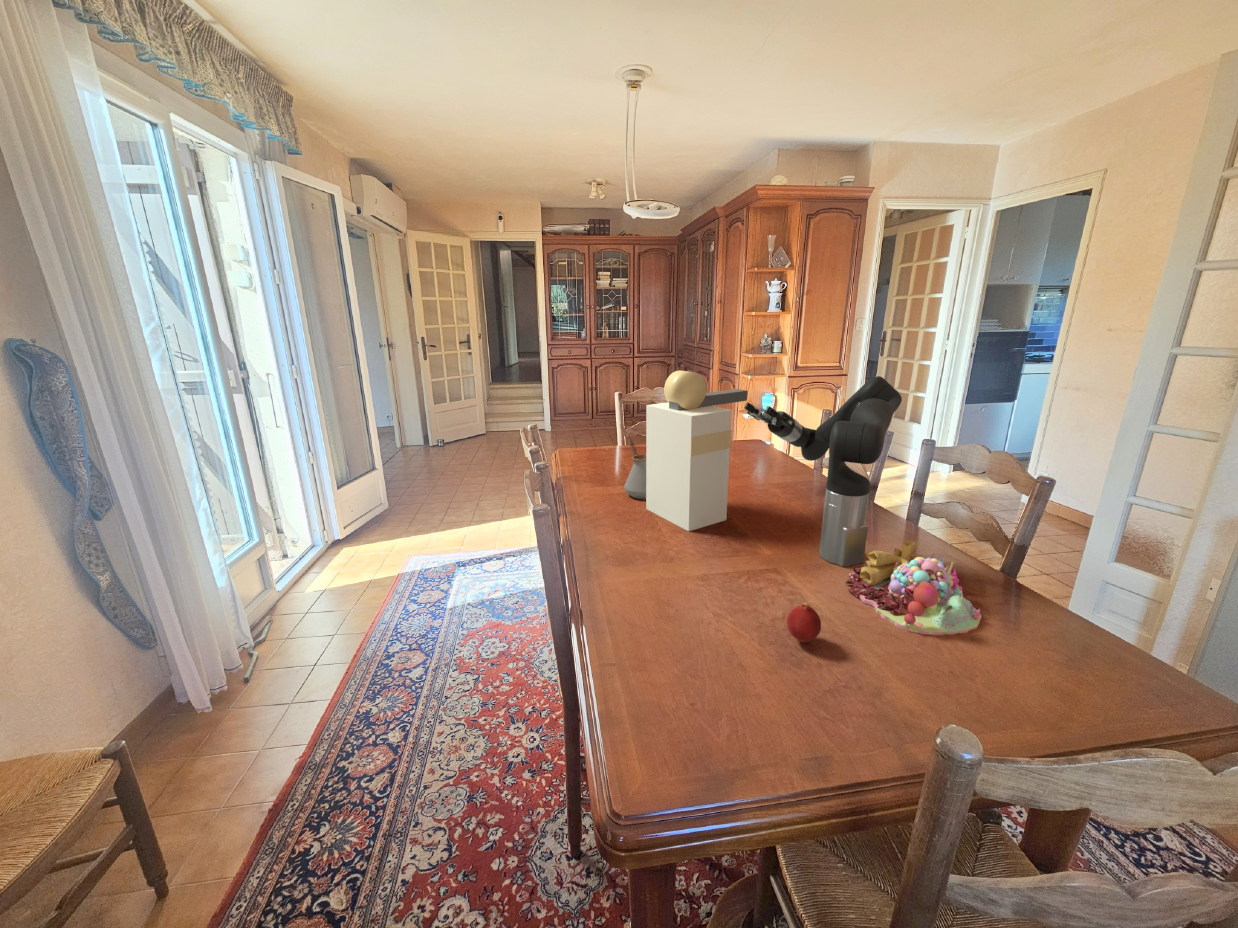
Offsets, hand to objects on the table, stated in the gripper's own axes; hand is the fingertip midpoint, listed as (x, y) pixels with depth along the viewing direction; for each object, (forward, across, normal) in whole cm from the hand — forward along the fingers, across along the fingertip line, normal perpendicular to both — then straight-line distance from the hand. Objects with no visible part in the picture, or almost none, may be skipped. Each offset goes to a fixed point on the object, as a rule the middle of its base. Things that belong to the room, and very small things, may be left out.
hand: (756, 407), depth 156 cm
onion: (+27, +59, +49) cm, 81 cm away
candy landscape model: (0, +62, +34) cm, 70 cm away
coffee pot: (+8, -26, +39) cm, 47 cm away
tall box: (+9, 0, +39) cm, 40 cm away
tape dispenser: (+18, 0, +7) cm, 19 cm away
